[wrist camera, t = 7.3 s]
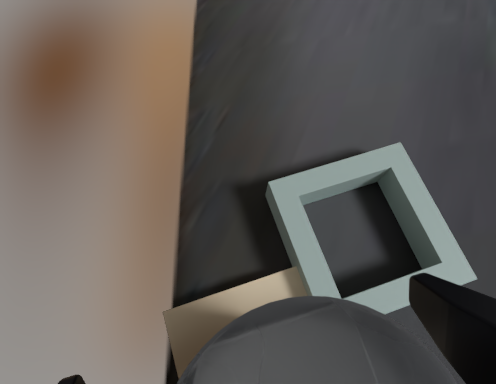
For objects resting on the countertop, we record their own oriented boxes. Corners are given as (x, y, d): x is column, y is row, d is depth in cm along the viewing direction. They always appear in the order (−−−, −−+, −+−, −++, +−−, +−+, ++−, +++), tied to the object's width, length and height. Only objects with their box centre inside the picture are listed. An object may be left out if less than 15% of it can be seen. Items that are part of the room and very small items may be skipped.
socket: (453, 283, 19) (477, 278, 17) (318, 335, 18) (328, 335, 16) (386, 158, 22) (400, 142, 20) (265, 195, 20) (268, 182, 19)
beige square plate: (347, 410, 17) (354, 415, 16) (204, 470, 15) (202, 479, 15) (293, 269, 19) (296, 266, 18) (166, 312, 18) (162, 311, 17)
